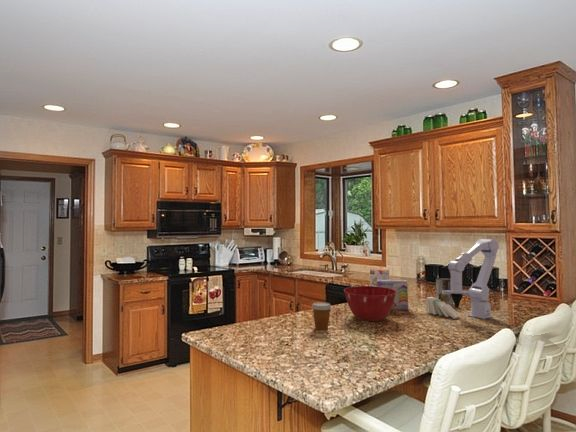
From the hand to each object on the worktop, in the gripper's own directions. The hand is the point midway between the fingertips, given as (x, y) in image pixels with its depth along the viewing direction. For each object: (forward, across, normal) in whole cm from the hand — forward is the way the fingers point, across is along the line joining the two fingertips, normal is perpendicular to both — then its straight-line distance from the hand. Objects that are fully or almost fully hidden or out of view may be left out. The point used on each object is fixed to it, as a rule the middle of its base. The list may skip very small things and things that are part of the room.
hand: (456, 307), depth 218 cm
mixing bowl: (+6, +47, +7) cm, 48 cm away
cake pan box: (+6, +33, -20) cm, 39 cm away
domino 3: (+6, +6, -6) cm, 10 cm away
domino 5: (+5, 0, 0) cm, 5 cm away
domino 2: (+6, +9, -9) cm, 14 cm away
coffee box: (+6, -2, -41) cm, 41 cm away
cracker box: (+6, +39, -49) cm, 62 cm away
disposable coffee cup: (+6, +71, +32) cm, 78 cm away
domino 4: (+5, +3, -3) cm, 7 cm away
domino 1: (+6, +12, -13) cm, 18 cm away
